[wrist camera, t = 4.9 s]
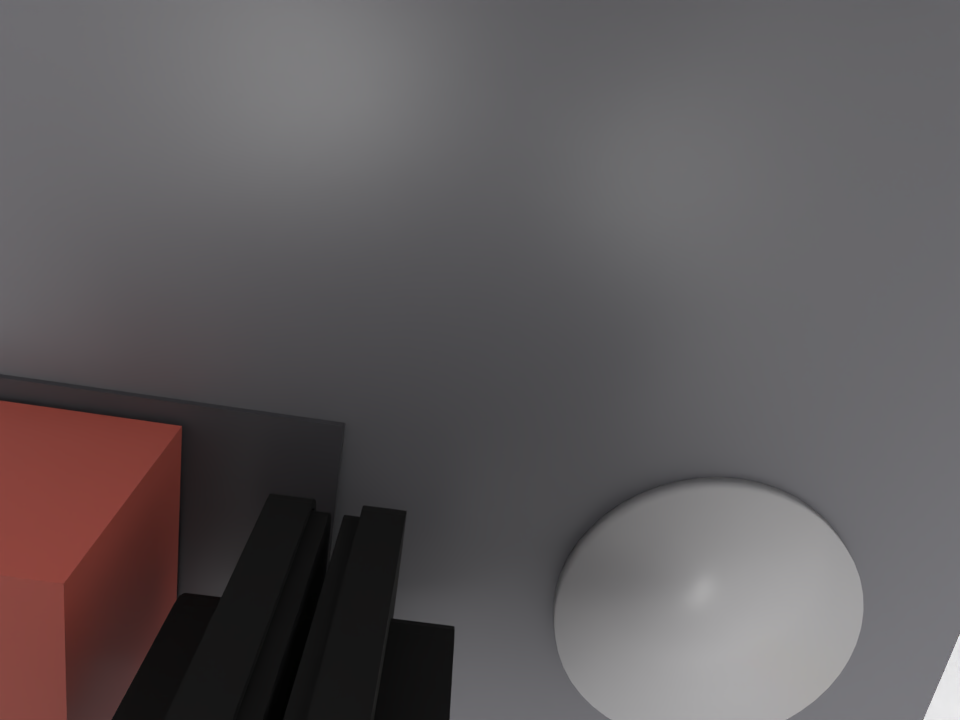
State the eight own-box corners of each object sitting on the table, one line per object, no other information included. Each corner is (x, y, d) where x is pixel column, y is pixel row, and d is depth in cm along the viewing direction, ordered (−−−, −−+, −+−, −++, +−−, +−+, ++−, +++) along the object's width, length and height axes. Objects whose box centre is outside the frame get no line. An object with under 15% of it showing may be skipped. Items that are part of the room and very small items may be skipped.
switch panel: (-206, -948, 9) (-640, -1547, 6) (1264, -651, 10) (1695, -1021, 6) (-34, 984, 20) (-146, 1191, 17) (662, 1062, 21) (697, 1279, 17)
